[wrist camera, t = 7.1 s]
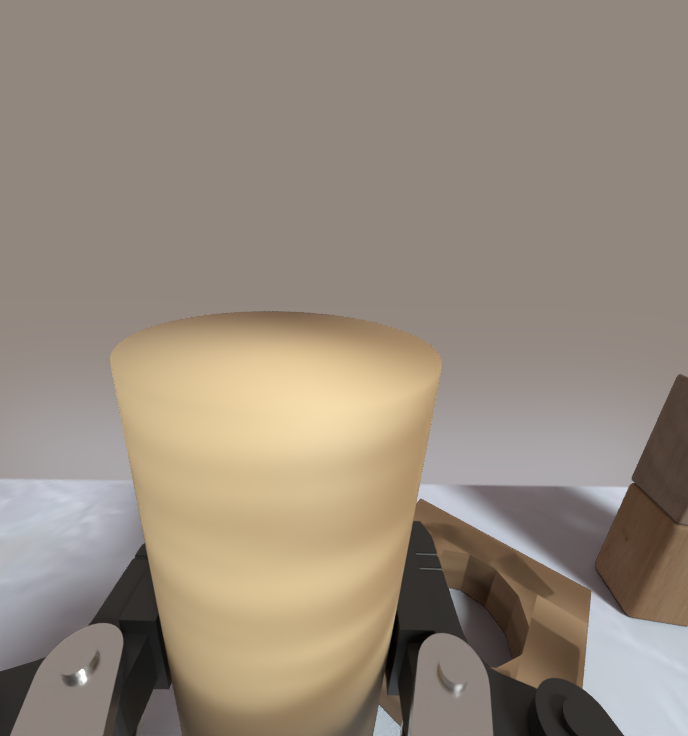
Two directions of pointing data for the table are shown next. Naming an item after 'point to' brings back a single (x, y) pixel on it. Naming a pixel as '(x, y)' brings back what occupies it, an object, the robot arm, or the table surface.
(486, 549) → the square wooden ring
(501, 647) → the table surface
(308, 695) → the oak leg
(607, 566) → the wooden block
